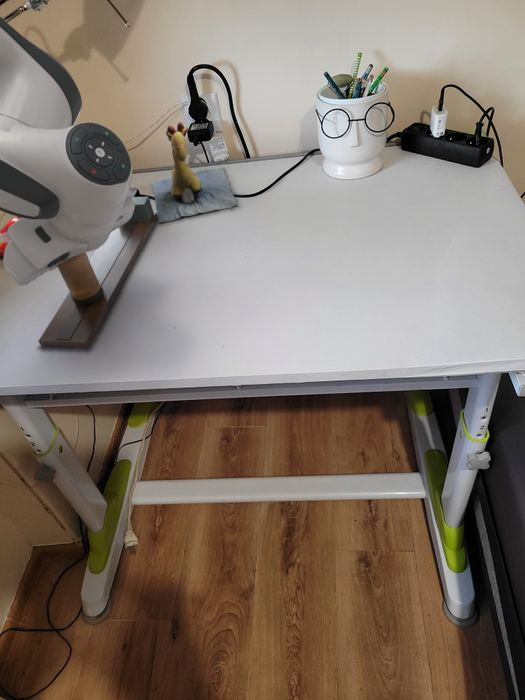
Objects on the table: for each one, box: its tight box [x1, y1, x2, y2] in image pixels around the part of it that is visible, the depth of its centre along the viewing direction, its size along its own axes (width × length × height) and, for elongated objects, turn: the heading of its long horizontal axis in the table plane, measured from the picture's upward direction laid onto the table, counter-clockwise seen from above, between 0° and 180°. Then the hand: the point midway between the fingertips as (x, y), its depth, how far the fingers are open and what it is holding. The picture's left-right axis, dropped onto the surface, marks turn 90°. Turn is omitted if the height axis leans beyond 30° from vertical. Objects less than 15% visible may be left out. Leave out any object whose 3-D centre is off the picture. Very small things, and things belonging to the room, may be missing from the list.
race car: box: [0, 216, 22, 257], centre depth 101 cm, size 13×5×4 cm, turn 153°
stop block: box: [128, 196, 154, 222], centre depth 100 cm, size 3×7×5 cm, turn 81°
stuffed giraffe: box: [152, 121, 238, 223], centre depth 103 cm, size 16×18×16 cm
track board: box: [37, 211, 159, 349], centre depth 91 cm, size 37×8×1 cm, turn 171°
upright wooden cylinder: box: [57, 252, 103, 305], centre depth 79 cm, size 5×5×15 cm
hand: (67, 254), depth 80 cm, fingers closed on upright wooden cylinder, 5 cm apart
